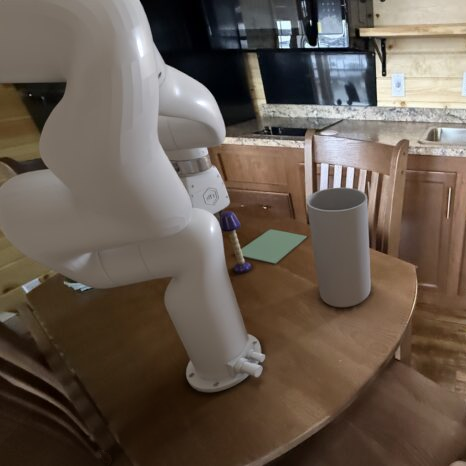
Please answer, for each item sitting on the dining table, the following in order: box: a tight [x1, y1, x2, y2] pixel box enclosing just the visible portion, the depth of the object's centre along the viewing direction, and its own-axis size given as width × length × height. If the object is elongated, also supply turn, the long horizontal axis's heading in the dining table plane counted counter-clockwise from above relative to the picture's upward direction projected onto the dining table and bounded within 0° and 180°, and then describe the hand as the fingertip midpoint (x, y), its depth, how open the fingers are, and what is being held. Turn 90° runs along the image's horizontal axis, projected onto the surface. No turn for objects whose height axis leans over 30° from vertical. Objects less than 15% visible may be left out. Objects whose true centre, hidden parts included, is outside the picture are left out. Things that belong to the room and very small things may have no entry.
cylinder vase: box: [306, 187, 372, 308], centre depth 72 cm, size 12×12×25 cm
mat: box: [234, 228, 308, 265], centre depth 96 cm, size 14×16×1 cm
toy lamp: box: [219, 211, 252, 274], centre depth 82 cm, size 5×5×17 cm
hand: (215, 238), depth 76 cm, fingers closed
